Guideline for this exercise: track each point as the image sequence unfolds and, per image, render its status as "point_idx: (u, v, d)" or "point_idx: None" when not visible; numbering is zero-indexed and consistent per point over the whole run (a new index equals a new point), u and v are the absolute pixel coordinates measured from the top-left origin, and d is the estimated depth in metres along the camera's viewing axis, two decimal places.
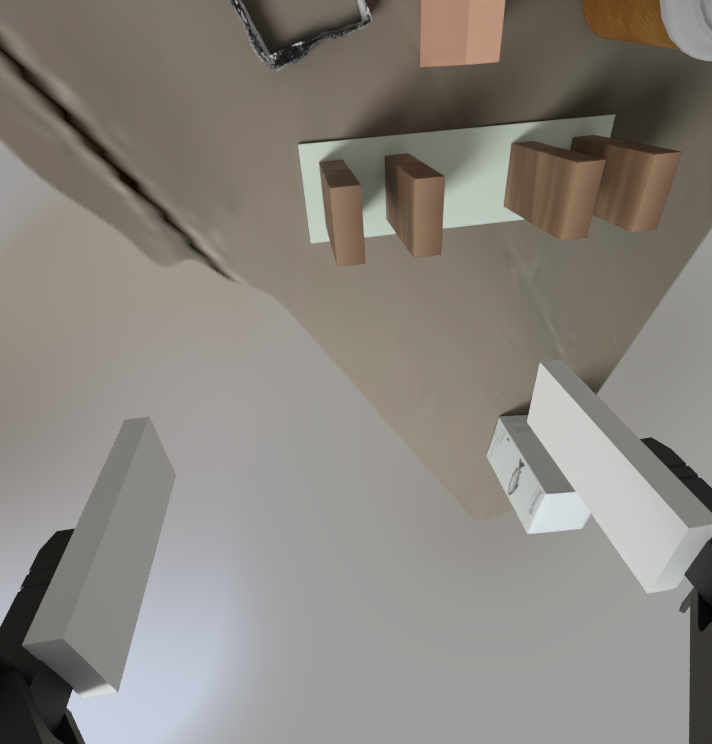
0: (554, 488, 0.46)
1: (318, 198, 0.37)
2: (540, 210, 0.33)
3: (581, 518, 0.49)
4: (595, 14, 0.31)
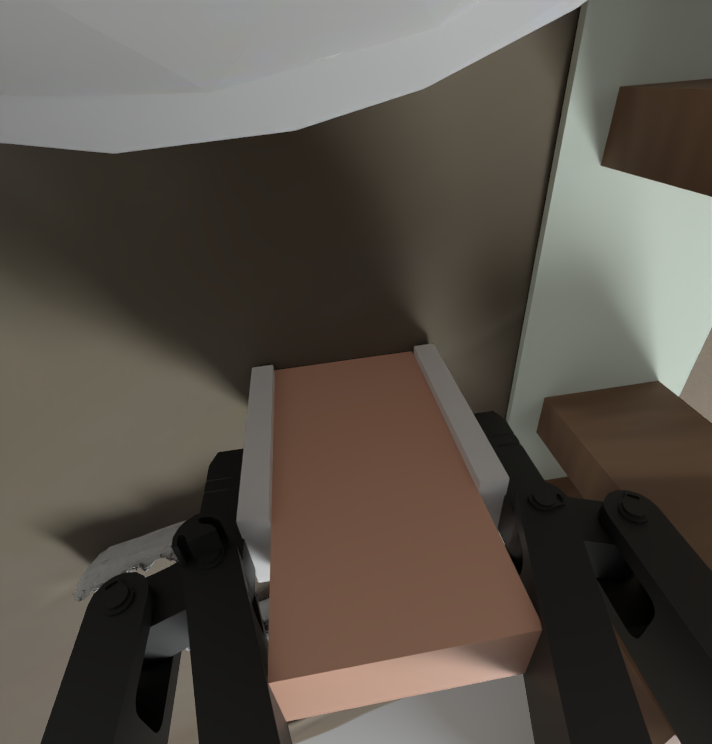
0: None
1: None
2: None
3: None
4: None
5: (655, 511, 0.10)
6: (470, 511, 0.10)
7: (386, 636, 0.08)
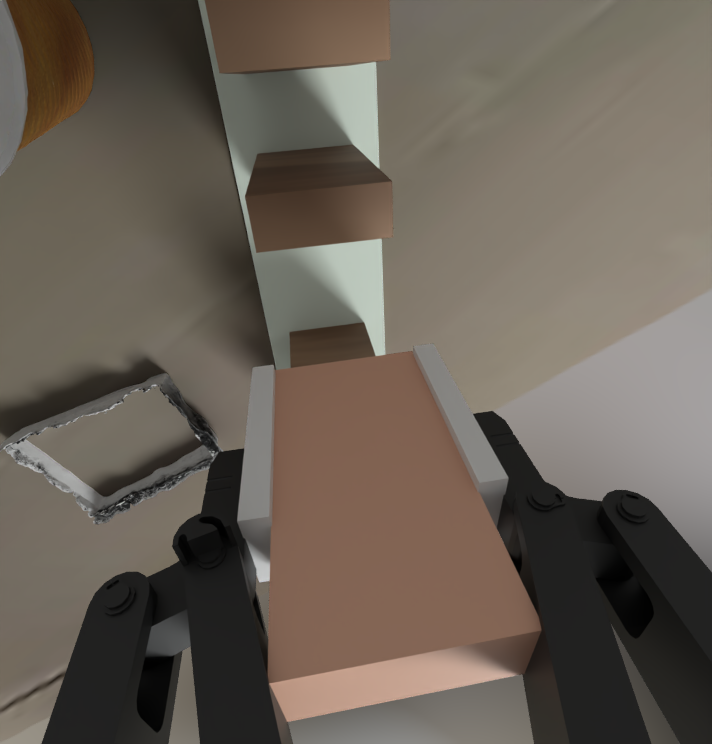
0: None
1: None
2: None
3: None
4: (69, 113, 0.20)
5: (654, 511, 0.10)
6: (470, 511, 0.10)
7: (386, 636, 0.08)
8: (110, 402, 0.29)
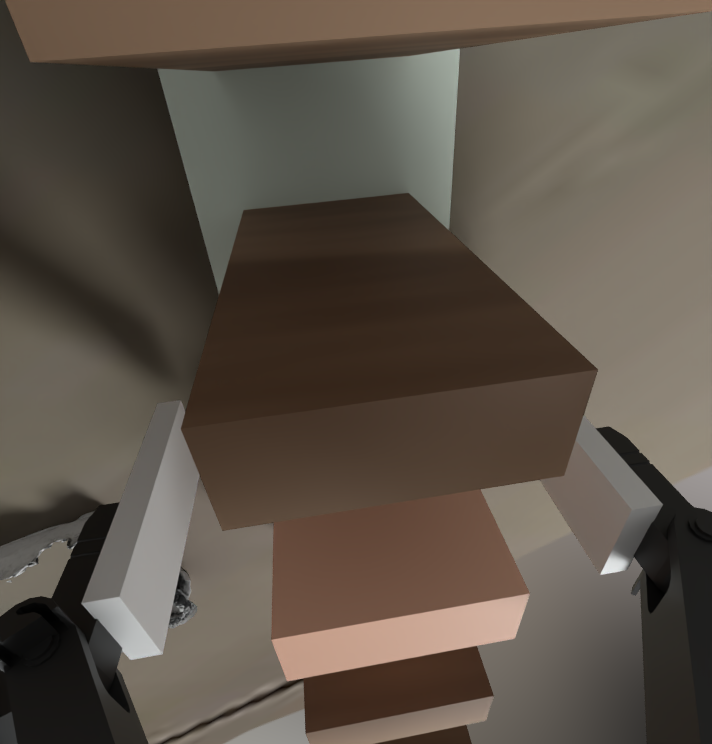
0: None
1: None
2: None
3: None
4: None
5: None
6: None
7: (382, 599, 0.09)
8: (20, 559, 0.19)
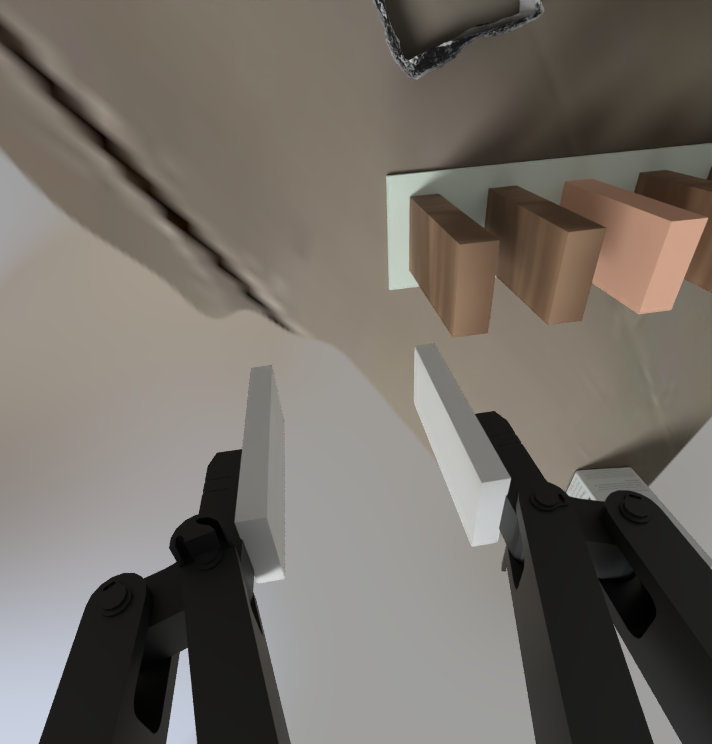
0: None
1: (404, 238, 0.30)
2: None
3: None
4: None
5: (657, 511, 0.10)
6: None
7: None
8: None
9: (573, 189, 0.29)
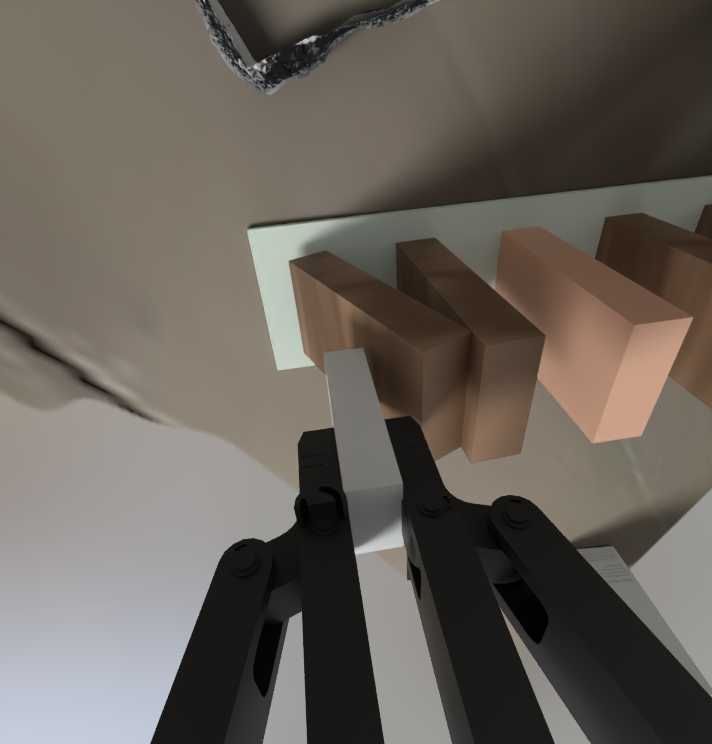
0: None
1: (286, 308, 0.22)
2: None
3: None
4: None
5: (535, 512, 0.10)
6: None
7: None
8: None
9: (511, 243, 0.21)
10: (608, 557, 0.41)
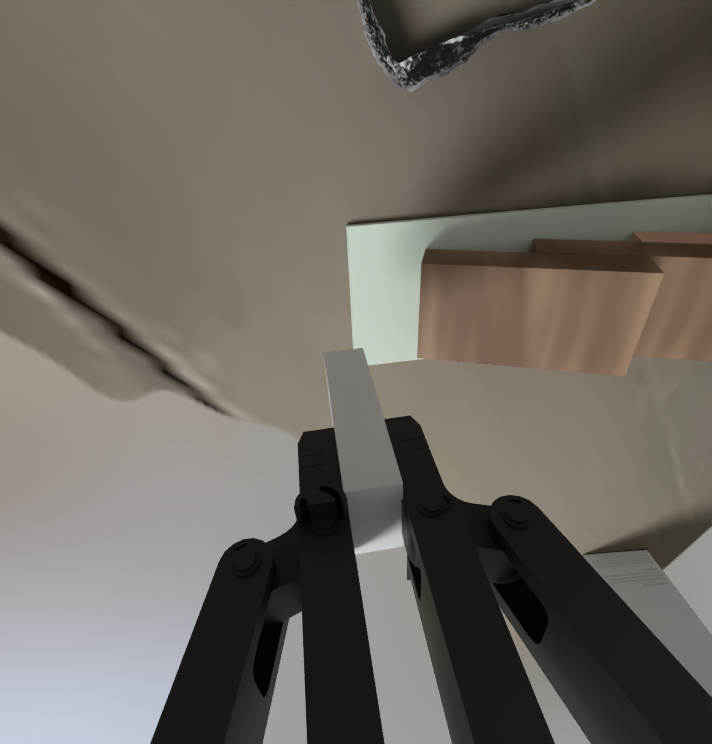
0: None
1: (372, 305, 0.23)
2: None
3: None
4: None
5: (536, 512, 0.10)
6: None
7: None
8: None
9: None
10: (643, 561, 0.41)
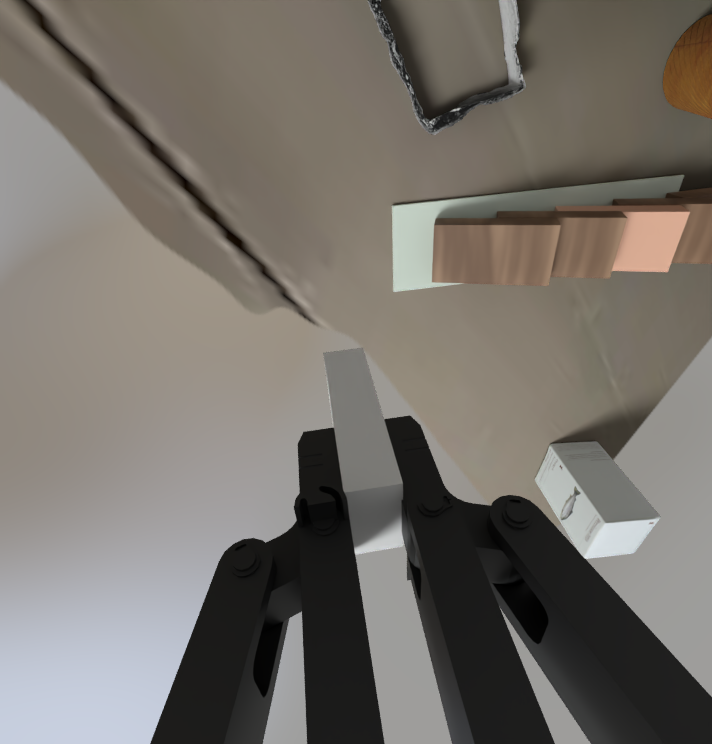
0: (612, 517, 0.48)
1: (405, 252, 0.39)
2: (685, 250, 0.38)
3: (634, 544, 0.51)
4: (676, 92, 0.34)
5: (535, 512, 0.10)
6: None
7: None
8: None
9: None
10: (593, 447, 0.58)
